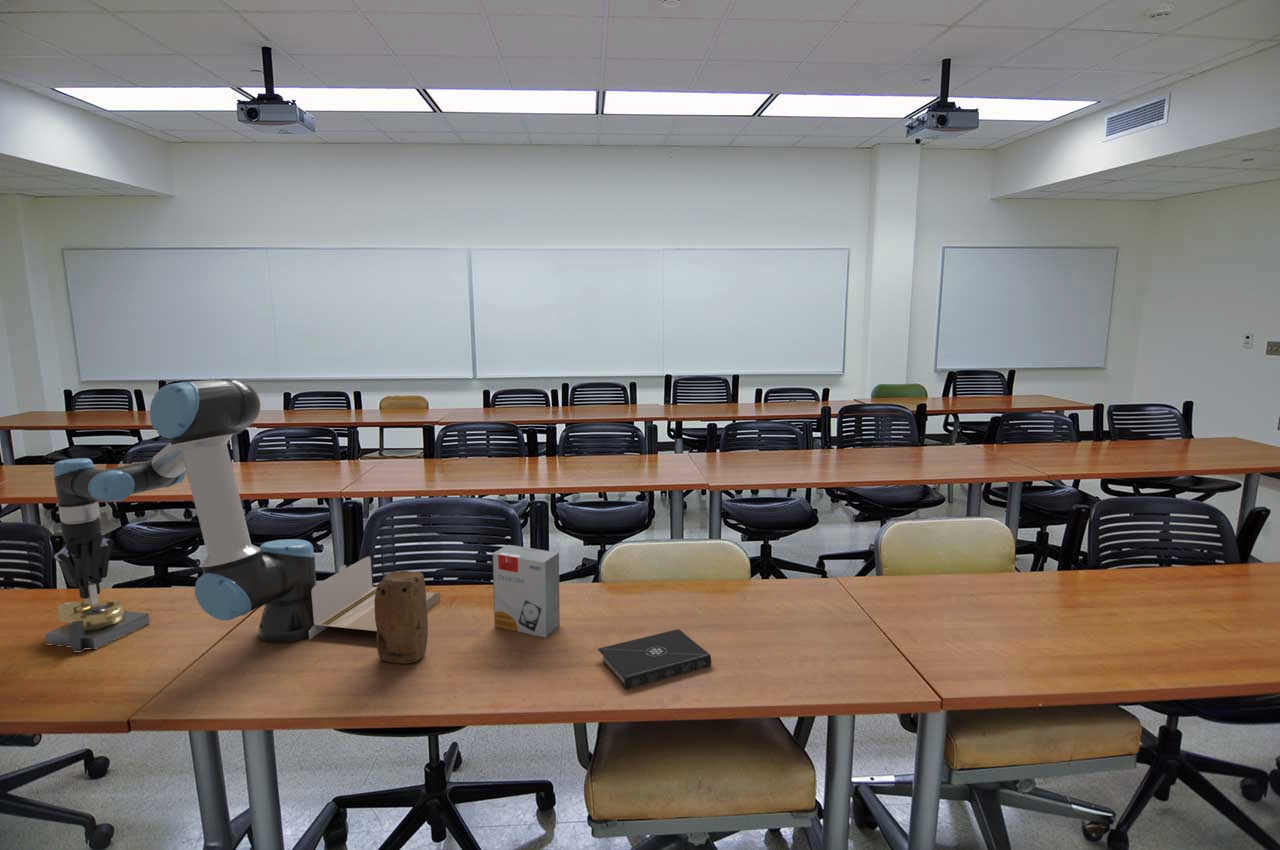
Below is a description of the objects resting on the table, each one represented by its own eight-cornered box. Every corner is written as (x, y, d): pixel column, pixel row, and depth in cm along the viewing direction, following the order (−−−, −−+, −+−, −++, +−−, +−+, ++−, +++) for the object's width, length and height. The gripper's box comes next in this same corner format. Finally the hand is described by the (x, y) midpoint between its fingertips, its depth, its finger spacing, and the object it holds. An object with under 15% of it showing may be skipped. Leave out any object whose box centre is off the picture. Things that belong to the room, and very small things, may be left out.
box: (373, 656, 149) (369, 599, 146) (298, 648, 153) (293, 592, 151) (447, 596, 182) (445, 549, 180) (384, 590, 187) (382, 544, 185)
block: (432, 650, 151) (427, 569, 148) (419, 666, 143) (414, 582, 140) (387, 648, 151) (382, 568, 148) (372, 665, 144) (367, 581, 141)
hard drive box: (493, 627, 162) (490, 553, 159) (510, 615, 169) (507, 543, 166) (546, 638, 156) (544, 561, 153) (561, 625, 163) (559, 551, 160)
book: (625, 692, 134) (625, 679, 133) (597, 660, 147) (597, 648, 146) (711, 668, 143) (711, 655, 143) (678, 640, 156) (678, 628, 156)
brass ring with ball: (134, 614, 162) (132, 599, 162) (94, 632, 152) (92, 616, 152) (85, 610, 165) (83, 595, 164) (43, 627, 155) (41, 611, 154)
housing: (149, 624, 164) (146, 598, 163) (85, 654, 149) (82, 626, 148) (104, 619, 167) (101, 594, 166) (37, 649, 151) (33, 621, 150)
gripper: (97, 511, 167) (108, 596, 171) (39, 526, 155) (52, 617, 158) (118, 513, 165) (129, 599, 169) (61, 528, 153) (74, 621, 156)
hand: (92, 608), depth 163 cm, fingers closed
